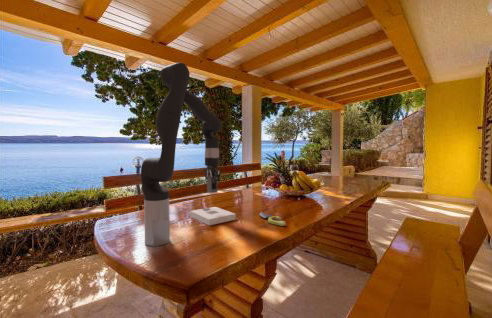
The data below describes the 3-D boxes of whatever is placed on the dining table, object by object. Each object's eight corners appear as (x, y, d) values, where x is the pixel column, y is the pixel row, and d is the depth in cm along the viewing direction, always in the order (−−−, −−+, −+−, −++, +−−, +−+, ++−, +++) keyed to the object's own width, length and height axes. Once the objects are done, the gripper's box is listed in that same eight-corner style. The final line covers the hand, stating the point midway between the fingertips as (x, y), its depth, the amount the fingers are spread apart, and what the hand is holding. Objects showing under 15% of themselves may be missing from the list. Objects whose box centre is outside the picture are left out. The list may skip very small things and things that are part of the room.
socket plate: (235, 219, 124) (235, 212, 124) (208, 225, 114) (208, 218, 114) (215, 211, 139) (215, 205, 139) (190, 216, 129) (190, 209, 129)
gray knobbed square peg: (217, 192, 126) (217, 174, 125) (210, 192, 123) (210, 174, 123) (213, 191, 129) (213, 173, 129) (207, 191, 126) (206, 174, 126)
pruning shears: (253, 215, 134) (276, 228, 111) (253, 210, 134) (276, 222, 111) (265, 213, 137) (290, 226, 114) (265, 209, 137) (290, 220, 114)
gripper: (199, 156, 128) (199, 187, 129) (212, 157, 117) (213, 191, 118) (211, 156, 133) (211, 186, 134) (225, 157, 122) (225, 189, 123)
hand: (212, 188), depth 126 cm, fingers closed on gray knobbed square peg, 4 cm apart
